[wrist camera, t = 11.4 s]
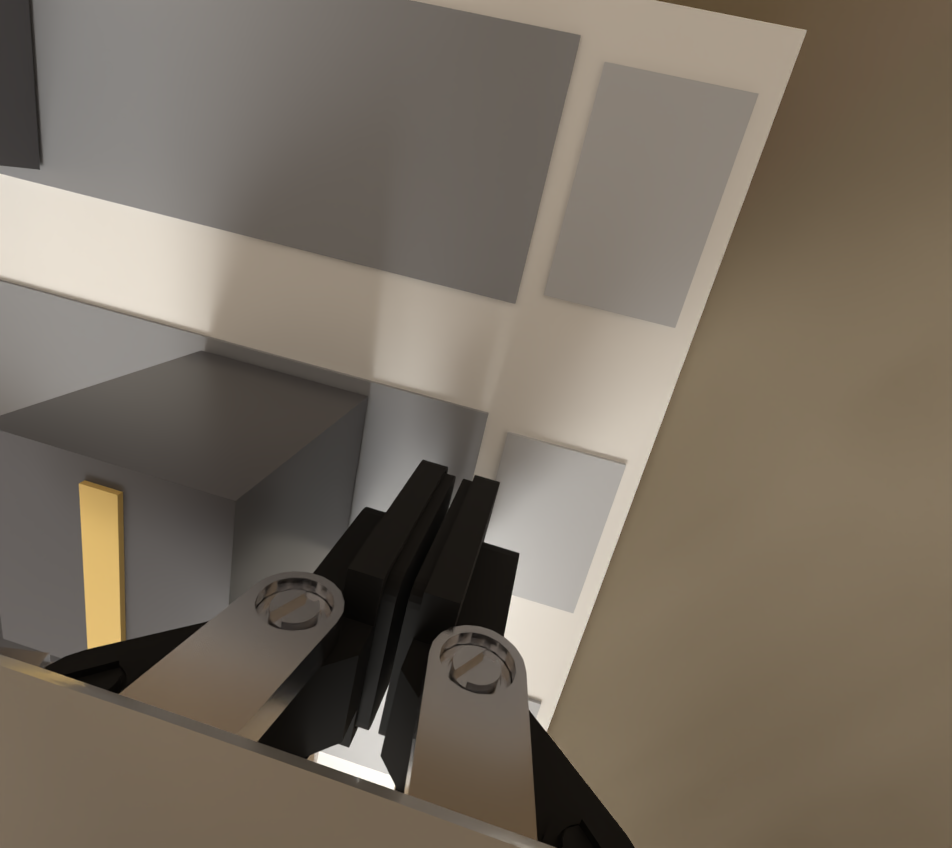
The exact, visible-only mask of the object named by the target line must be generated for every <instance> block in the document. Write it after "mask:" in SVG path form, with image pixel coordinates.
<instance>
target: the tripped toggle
mask: <svg viewBox="0 0 952 848" xmlns="http://www.w3.org/2000/svg"><path fill="white" fill-rule="evenodd" d="M367 400H368V396H365V395H361V394H358V393H354V392H350V391H347V390H343V389H340V388H336V387H332V386H329V385H325V384H321V383H318V382H314V381H310V380H307V379H303V378H300V377H296V376H292V375H289V374H285V373H281V372H278V371H274V370H271V369H267V368H263V367H260V366H256V365H252V364H249V363H245V362H242V361H238V360H234V359H231V358H227V357H223V356H220V355H216V354H212V353H209V352H205V351H202V350H201V351H198V352H195V353H191V354H188V355H185V356H182V357H179V358H176V359H173V360H170V361H167V362H164V363H161V364H157V365H154V366H151V367H148V368H145V369H142V370H139V371H136V372H133V373H130V374H127V375H123V376H120V377H117V378H114V379H111V380H108V381H105V382H102V383H99V384H96V385H93V386H89V387H86V388H83V389H80V390H77V391H74V392H71V393H68V394H65V395H62V396H59V397H55V398H52V399H49V400H46V401H43V402H40V403H37V404H34V405H31V406H28V407H25V408H21V409H18V410H15V411H12V412H9V413H6V414H3V415H0V617H1V625H2V633H3V639H6V640H9V641H12V642H15V643H18V644H20V645H23V646H26V647H29V648H32V649H35V650H38V651H41V652H48V653H50V655H53V656H56V657H59V658H63V657H65V656H68V655H71V654H74V653H77V652H80V651H83V650H86V649H90V648H95V647H99V646H103V645H108V644H112V643H116V642H121V641H125V640H129V639H134V638H138V637H142V636H147V635H151V634H155V633H160V632H164V631H168V630H173V629H177V628H181V627H185V626H190V625H194V624H198V623H203V622H207V621H210V620H211V619H212V618H214V617H215V616H216V615H217V614H219V613H220V612H221V611H222V610H224V609H225V608H226V607H227V606H229V605H230V604H231V603H232V602H234V601H235V600H236V599H237V598H238V597H240V596H241V595H242V594H243V593H245V592H246V591H247V590H248V589H250V588H251V587H252V586H253V585H255V584H256V583H258V582H259V581H261V580H263V579H264V578H266V577H268V576H272V575H275V574H278V573H282V572H292V571H299V572H309V573H313V572H314V571H315V570H316V569H317V567H318V566H319V565H320V563H321V562H322V561H323V560H324V558H325V557H326V556H327V554H328V553H329V552H330V551H331V549H332V548H333V547H334V545H335V544H336V543H337V542H338V540H339V539H340V538H341V536H342V535H343V534H344V533H345V531H346V530H347V529H348V522H349V516H350V510H351V503H352V497H353V490H354V484H355V477H356V471H357V465H358V458H359V452H360V445H361V439H362V432H363V426H364V420H365V413H366V407H367Z"/></svg>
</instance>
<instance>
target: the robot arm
mask: <svg viewBox="0 0 952 848" xmlns="http://www.w3.org/2000/svg"><path fill="white" fill-rule="evenodd" d="M447 473H448V467H447V466H443V465H440V464H437V463H433V462H430V461H426V460H422V461H421V462H420V464H419V465H418V467H417V468H416V469H415V471H414V472H413V474H412V475H411V477H410V478H409V480H408V481H407V483H406V484H405V485H404V487H403V488H402V490H401V491H400V493H399V494H398V496H397V497H396V498H395V500H394V501H393V503H392V504H391V506H390V507H389V509H388V510H387V512H383V511H380V510H376V509H373V508H370V507H365V508H364V509H363V510H362V511H361V512H360V513H359V515H358V516H357V517H356V518H355V520H354V521H353V522H352V524H351V525H350V526H349V527H348V529H347V530H346V531H345V533H344V534H343V535H342V536H341V538H340V539H339V540H338V542H337V543H336V544H335V545H334V547H333V548H332V549H331V551H330V552H329V553H328V554H327V556H326V557H325V558H324V560H323V561H322V562H321V563H320V565H319V566H318V567H317V569H316V570H315V571H314V572H313V573H309V572H299V571H292V572H282V573H278V574H275V575H272V576H268V577H266V578H264V579H263V580H261V581H259V582H258V583H256V584H255V585H253V586H252V587H251V588H250V589H248V590H247V591H246V592H245V593H243V594H242V595H241V596H240V597H238V598H237V599H236V600H235V601H234V602H232V603H231V604H230V605H229V606H227V607H226V608H225V609H224V610H222V611H221V612H220V613H219V614H217V615H216V616H215V617H214V618H212V619H211V620H210V621H207V622H203V623H198V624H194V625H190V626H185V627H181V628H177V629H173V630H168V631H164V632H160V633H155V634H151V635H147V636H142V637H138V638H134V639H129V640H125V641H121V642H116V643H112V644H108V645H103V646H99V647H95V648H90V649H86V650H83V651H80V652H77V653H74V654H71V655H68V656H65V657H63V658H61V659H59V660H57V661H56V662H50V653H48V652H39V651H31V650H22V649H14V648H5V647H0V848H634V846H633V844H632V843H631V841H630V840H629V838H628V836H627V835H626V834H625V832H624V831H623V830H622V828H621V827H620V826H619V825H618V823H617V822H616V821H615V819H614V818H613V817H612V816H611V814H610V813H609V812H608V810H607V809H606V808H605V807H604V805H603V804H602V803H601V801H600V800H599V799H598V798H597V796H596V795H595V794H594V792H593V791H592V790H591V789H590V787H589V786H588V785H587V784H586V782H585V781H584V780H583V778H582V777H581V776H580V775H579V773H578V772H577V771H576V769H575V768H574V767H573V766H572V764H571V763H570V762H569V760H568V759H567V758H566V757H565V755H564V754H563V753H562V751H561V750H560V749H559V748H558V746H557V745H556V744H555V742H554V741H553V740H552V739H551V737H550V736H549V735H548V733H547V732H546V731H545V730H544V728H543V727H542V726H541V724H540V723H539V722H538V721H537V719H536V718H535V717H534V715H533V714H532V713H531V712H530V710H529V704H528V689H527V673H526V668H525V664H524V660H523V658H522V656H521V655H520V653H519V651H518V650H517V648H516V647H515V646H514V645H513V644H512V643H511V642H509V641H508V640H507V639H506V638H505V637H504V633H505V628H506V623H507V618H508V613H509V607H510V602H511V597H512V592H513V586H514V581H515V576H516V571H517V566H518V560H519V553H518V552H515V551H511V550H508V549H505V548H502V547H498V546H495V545H492V544H488V543H485V542H484V540H485V536H486V532H487V529H488V525H489V521H490V518H491V514H492V511H493V507H494V503H495V500H496V496H497V493H498V489H499V485H500V482H498V481H495V480H491V479H488V478H484V477H481V476H478V475H475V476H474V478H473V481H470V480H467V479H463V480H462V482H461V484H460V486H459V488H458V490H457V493H456V495H455V497H454V499H453V501H452V503H451V505H450V501H451V497H452V492H453V488H454V484H455V479H456V476H453V475H450V474H447ZM449 505H450V507H449ZM388 685H389V687H388ZM387 688H388V691H387V696H386V700H385V704H384V709H383V713H382V717H381V722H380V726H379V731H378V734H380V735H383V736H385V738H384V742H383V746H382V751H381V755H380V756H381V758H382V760H383V762H384V764H385V766H386V768H387V770H388V772H389V774H390V776H391V778H392V780H393V782H394V784H395V787H394V790H393V789H390V788H387V787H384V786H381V785H379V784H376V783H373V782H370V781H367V780H364V779H361V778H359V777H356V776H353V775H350V774H347V773H344V772H341V771H339V770H336V769H333V768H330V767H327V766H324V765H321V764H319V763H316V762H317V760H318V754H319V751H322V750H324V749H327V748H329V747H332V746H334V745H337V744H339V745H342V746H345V747H348V748H349V747H350V745H351V743H352V740H353V738H354V736H355V734H356V731H357V729H358V727H359V728H362V729H365V730H369V729H370V728H371V725H372V723H373V721H374V719H375V716H376V714H377V711H378V709H379V707H380V704H381V702H382V700H383V697H384V695H385V693H386V690H387Z"/></svg>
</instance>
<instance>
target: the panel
mask: <svg viewBox="0 0 952 848" xmlns="http://www.w3.org/2000/svg"><path fill="white" fill-rule="evenodd" d="M806 32H807V30H804V29H799V28H794V27H789V26H784V25H779V24H774V23H768V22H763V21H758V20H753V19H748V18H743V17H738V16H733V15H728V14H723V13H718V12H713V11H707V10H702V9H697V8H692V7H687V6H682V5H677V4H672V3H667V2H662V1H657V0H0V415H3V414H6V413H9V412H12V411H15V410H18V409H21V408H25V407H28V406H31V405H34V404H37V403H40V402H43V401H46V400H49V399H52V398H55V397H59V396H62V395H65V394H68V393H71V392H74V391H77V390H80V389H83V388H86V387H89V386H93V385H96V384H99V383H102V382H105V381H108V380H111V379H114V378H117V377H120V376H123V375H127V374H130V373H133V372H136V371H139V370H142V369H145V368H148V367H151V366H154V365H157V364H161V363H164V362H167V361H170V360H173V359H176V358H179V357H182V356H185V355H188V354H191V353H195V352H198V351H201V350H202V351H205V352H209V353H212V354H216V355H220V356H223V357H227V358H231V359H234V360H238V361H242V362H245V363H249V364H252V365H256V366H260V367H263V368H267V369H271V370H274V371H278V372H281V373H285V374H289V375H292V376H296V377H300V378H303V379H307V380H310V381H314V382H318V383H321V384H325V385H329V386H332V387H336V388H340V389H343V390H347V391H350V392H354V393H358V394H361V395H365V396H368V400H367V407H366V413H365V420H364V426H363V432H362V439H361V445H360V452H359V458H358V465H357V471H356V477H355V484H354V490H353V497H352V503H351V510H350V516H349V522H348V527H349V526H350V525H351V524H352V522H353V521H354V520H355V518H356V517H357V516H358V515H359V513H360V512H361V511H362V510H363V509H364V508H365V507H370V508H373V509H376V510H380V511H383V512H387V510H388V509H389V507H390V506H391V504H392V503H393V501H394V500H395V498H396V497H397V496H398V494H399V493H400V491H401V490H402V488H403V487H404V485H405V484H406V483H407V481H408V480H409V478H410V477H411V475H412V474H413V472H414V471H415V469H416V468H417V467H418V465H419V464H420V462H421V461H422V460H426V461H430V462H433V463H437V464H440V465H443V466H447V467H448V473H447V474H450V475H453V476H456V479H455V484H454V488H453V492H452V497H451V501H450V505H451V503H452V501H453V499H454V497H455V495H456V493H457V490H458V488H459V486H460V484H461V482H462V480H463V479H467V480H470V481H473V478H474V476H475V475H478V476H481V477H484V478H488V479H491V480H495V481H498V482H500V485H499V489H498V493H497V496H496V500H495V503H494V507H493V511H492V514H491V518H490V521H489V525H488V529H487V532H486V536H485V540H484V542H485V543H488V544H492V545H495V546H498V547H502V548H505V549H508V550H511V551H515V552H518V553H519V560H518V566H517V571H516V576H515V581H514V586H513V592H512V597H511V602H510V607H509V613H508V618H507V623H506V628H505V633H504V637H505V638H506V639H507V640H508V641H509V642H511V643H512V644H513V645H514V646H515V647H516V648H517V650H518V651H519V653H520V655H521V656H522V658H523V660H524V664H525V668H526V673H527V689H528V704H529V710H530V712H531V713H532V714H533V715H534V717H535V718H536V719H537V721H538V722H539V723H540V724H541V726H542V727H543V728H544V730H545V731H546V732H547V730H548V727H549V724H550V722H551V719H552V716H553V713H554V711H555V708H556V705H557V703H558V700H559V697H560V695H561V692H562V689H563V687H564V684H565V681H566V678H567V676H568V673H569V670H570V668H571V665H572V662H573V660H574V657H575V654H576V652H577V649H578V646H579V643H580V641H581V638H582V635H583V633H584V630H585V627H586V625H587V622H588V619H589V616H590V614H591V611H592V608H593V606H594V603H595V600H596V598H597V595H598V592H599V590H600V587H601V584H602V581H603V579H604V576H605V573H606V571H607V568H608V565H609V563H610V560H611V557H612V555H613V552H614V549H615V546H616V544H617V541H618V538H619V536H620V533H621V530H622V528H623V525H624V522H625V520H626V517H627V514H628V511H629V509H630V506H631V503H632V501H633V498H634V495H635V493H636V490H637V487H638V485H639V482H640V479H641V476H642V474H643V471H644V468H645V466H646V463H647V460H648V458H649V455H650V452H651V449H652V447H653V444H654V441H655V439H656V436H657V433H658V431H659V428H660V425H661V423H662V420H663V417H664V414H665V412H666V409H667V406H668V404H669V401H670V398H671V396H672V393H673V390H674V388H675V385H676V382H677V379H678V377H679V374H680V371H681V369H682V366H683V363H684V361H685V358H686V355H687V353H688V350H689V347H690V344H691V342H692V339H693V336H694V334H695V331H696V328H697V326H698V323H699V320H700V318H701V315H702V312H703V309H704V307H705V304H706V301H707V299H708V296H709V293H710V291H711V288H712V285H713V282H714V280H715V277H716V274H717V272H718V269H719V266H720V264H721V261H722V258H723V256H724V253H725V250H726V247H727V245H728V242H729V239H730V237H731V234H732V231H733V229H734V226H735V223H736V221H737V218H738V215H739V212H740V210H741V207H742V204H743V202H744V199H745V196H746V194H747V191H748V188H749V186H750V183H751V180H752V177H753V175H754V172H755V169H756V167H757V164H758V161H759V159H760V156H761V153H762V151H763V148H764V145H765V142H766V140H767V137H768V134H769V132H770V129H771V126H772V124H773V121H774V118H775V115H776V113H777V110H778V107H779V105H780V102H781V99H782V97H783V94H784V91H785V89H786V86H787V83H788V80H789V78H790V75H791V72H792V70H793V67H794V64H795V62H796V59H797V56H798V54H799V51H800V48H801V45H802V43H803V40H804V37H805V35H806ZM450 505H449V507H450ZM0 647H5V648H14V649H22V650H31V651H38V650H35V649H32V648H29V647H26V646H23V645H20V644H18V643H15V642H12V641H9V640H6V639H3V633H2V625H1V617H0ZM39 652H41V651H39ZM59 659H61V658H59V657H56V656H53V655H50V662H56V661H57V660H59ZM388 687H389V685H388ZM387 691H388V688H387V690H386V693H385V695H384V697H383V700H382V702H381V704H380V707H379V709H378V711H377V714H376V716H375V719H374V721H373V723H372V725H371V728H370V729H369V730H365V729H362V728H359V727H358V729H357V731H356V734H355V736H354V738H353V740H352V743H351V745H350V747H349V748H348V747H345V746H342V745H339V744H337V745H334V746H332V747H329V748H327V749H324V750H322V751H319V754H318V760H317V762H316V763H319V764H321V765H324V766H327V767H330V768H333V769H336V770H339V771H341V772H344V773H347V774H350V775H353V776H356V777H359V778H361V779H364V780H367V781H370V782H373V783H376V784H379V785H381V786H384V787H387V788H390V789H393V790H394V787H395V784H394V782H393V780H392V778H391V776H390V774H389V772H388V770H387V768H386V766H385V764H384V762H383V760H382V758H381V756H380V755H381V751H382V746H383V742H384V738H385V736H383V735H380V734H378V731H379V726H380V722H381V717H382V713H383V709H384V704H385V700H386V696H387Z"/></svg>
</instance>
